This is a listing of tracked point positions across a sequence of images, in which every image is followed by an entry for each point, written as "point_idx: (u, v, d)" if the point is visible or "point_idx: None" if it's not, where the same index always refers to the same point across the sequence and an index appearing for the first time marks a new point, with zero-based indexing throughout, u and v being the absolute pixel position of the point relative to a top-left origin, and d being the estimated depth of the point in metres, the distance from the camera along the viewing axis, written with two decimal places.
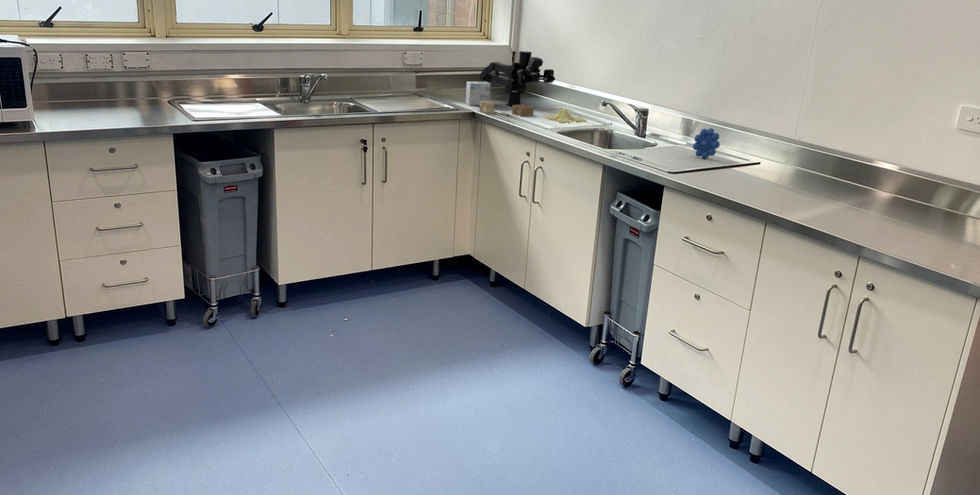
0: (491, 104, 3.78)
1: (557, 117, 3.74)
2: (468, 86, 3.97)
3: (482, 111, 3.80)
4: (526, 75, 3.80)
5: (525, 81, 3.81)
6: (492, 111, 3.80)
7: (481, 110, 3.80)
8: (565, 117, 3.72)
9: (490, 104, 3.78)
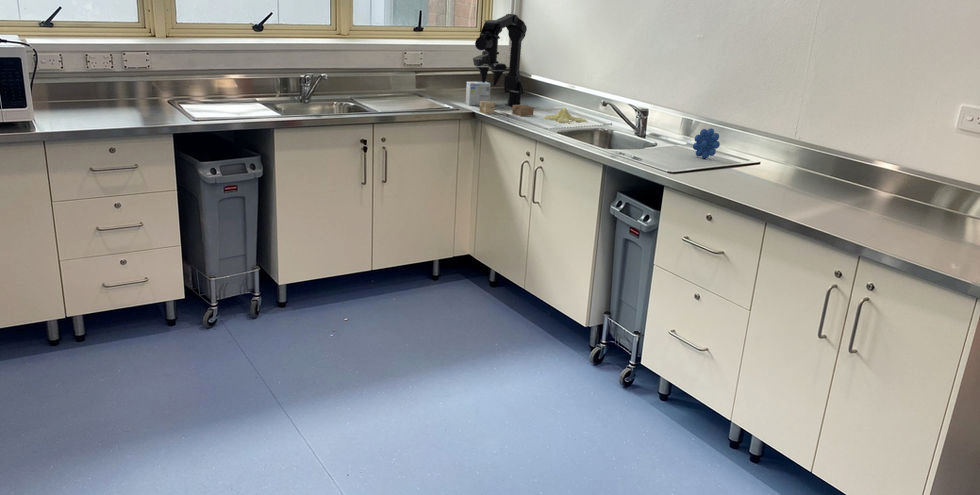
0: (491, 104, 3.78)
1: (557, 117, 3.74)
2: (468, 86, 3.97)
3: (482, 111, 3.80)
4: None
5: None
6: (492, 111, 3.80)
7: (481, 110, 3.80)
8: (565, 117, 3.72)
9: (490, 104, 3.78)
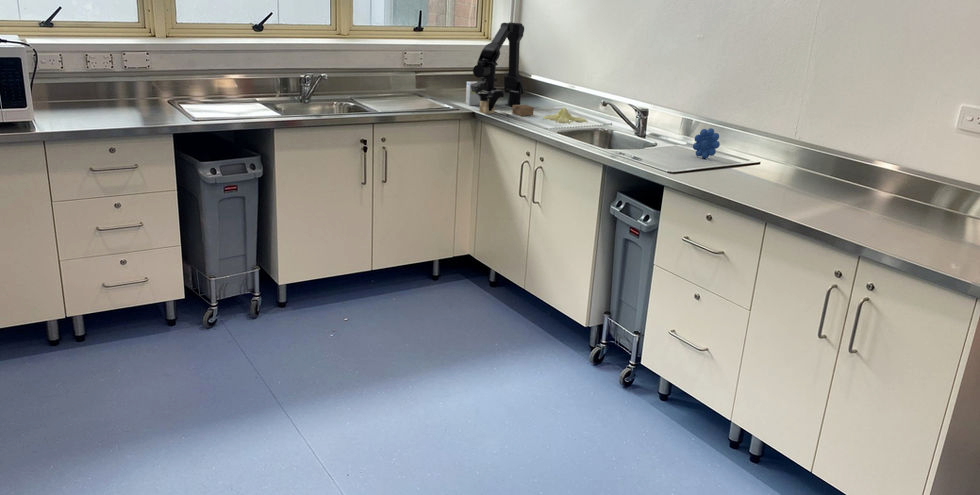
0: None
1: (557, 117, 3.74)
2: (468, 86, 3.97)
3: (482, 111, 3.80)
4: None
5: None
6: (492, 111, 3.80)
7: (481, 110, 3.80)
8: (565, 117, 3.72)
9: None
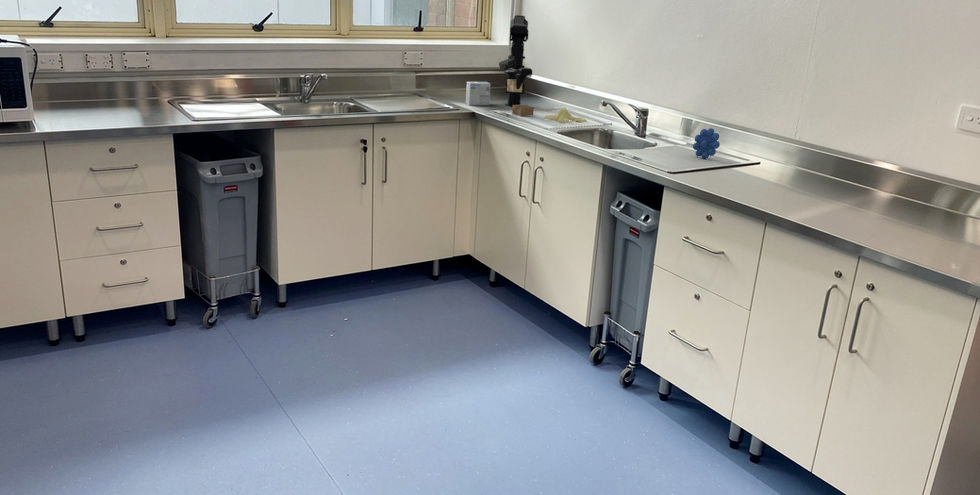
0: None
1: (557, 117, 3.74)
2: (468, 86, 3.97)
3: (510, 89, 3.76)
4: None
5: None
6: (520, 89, 3.76)
7: (509, 88, 3.77)
8: (565, 117, 3.72)
9: None
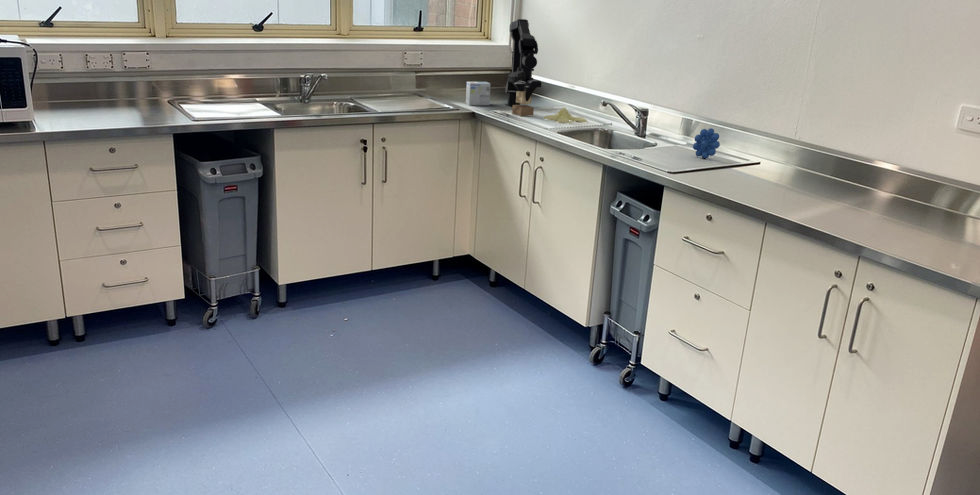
0: None
1: (557, 117, 3.74)
2: (468, 86, 3.97)
3: (519, 101, 3.78)
4: None
5: None
6: (529, 101, 3.78)
7: (518, 100, 3.79)
8: (565, 117, 3.72)
9: None
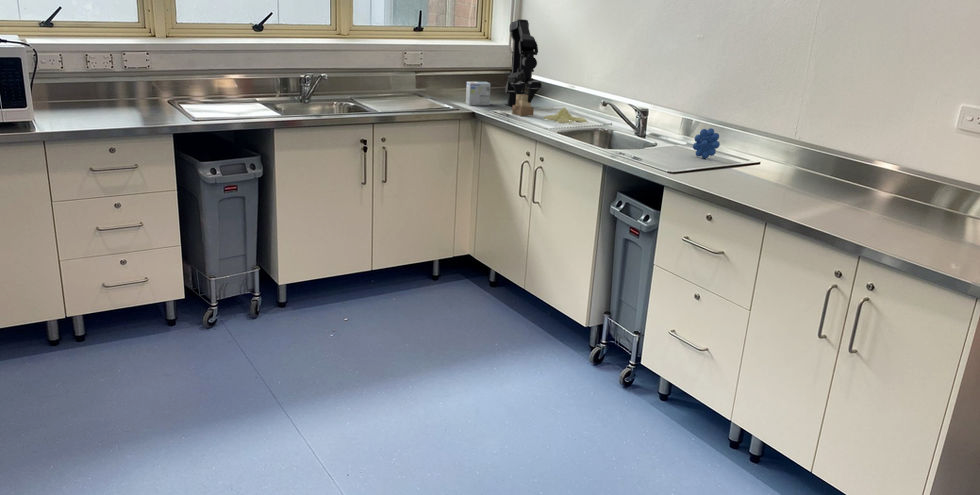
0: None
1: (557, 117, 3.74)
2: (468, 86, 3.97)
3: (518, 104, 3.79)
4: None
5: None
6: (528, 104, 3.79)
7: (517, 103, 3.79)
8: (565, 117, 3.72)
9: (527, 97, 3.77)
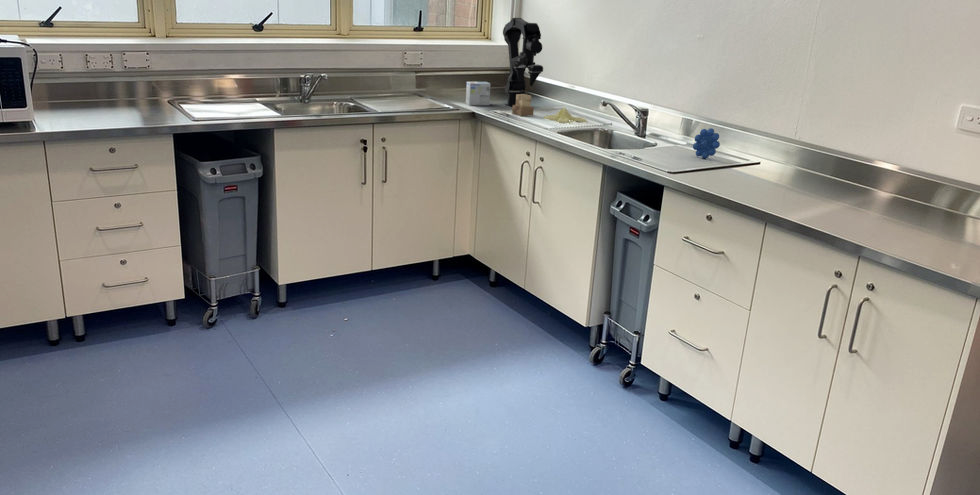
0: (528, 97, 3.77)
1: (557, 117, 3.74)
2: (468, 86, 3.97)
3: (518, 104, 3.79)
4: None
5: None
6: (528, 104, 3.79)
7: (517, 103, 3.79)
8: (565, 117, 3.72)
9: (527, 97, 3.77)
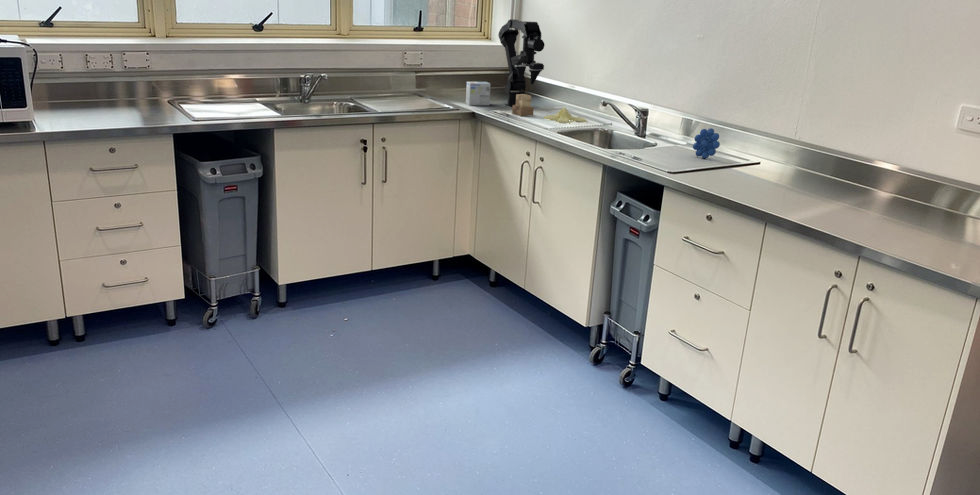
0: (528, 97, 3.77)
1: (557, 117, 3.74)
2: (468, 86, 3.97)
3: (518, 104, 3.79)
4: None
5: None
6: (528, 104, 3.79)
7: (517, 103, 3.79)
8: (565, 117, 3.72)
9: (527, 97, 3.77)
